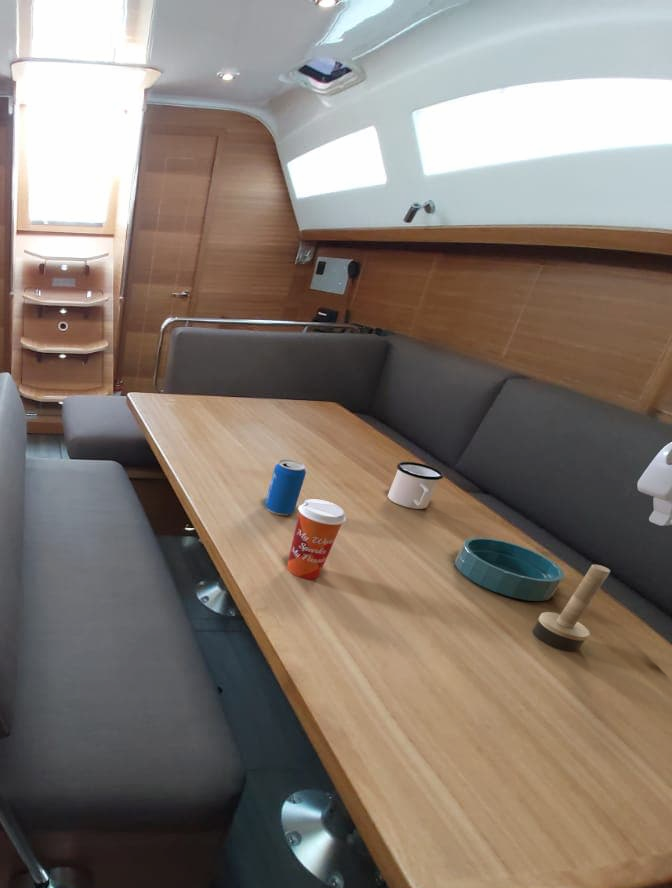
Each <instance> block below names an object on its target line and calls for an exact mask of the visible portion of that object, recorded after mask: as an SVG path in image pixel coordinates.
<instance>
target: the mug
mask: <svg viewBox="0 0 672 888" xmlns="http://www.w3.org/2000/svg"><path fill="white" fill-rule="evenodd" d="M396 469H397V471H396V473H395V476H394V478H393V481H392V484H391V486H390V488H389V492H388V494H387V498H388V499H389V500H390V501H391V502H392V503H394V504H396V505H399V506H401V507H404V508H408V509H412V510H422V509H426V508H427V507H428V506H429V504H430V502H431V498H432V497H433V495H434V492H435V489H436V487H437V485H438V482H439V480H442V479H444V476H445V475H444V472H443V471H441V470H440V469H438V468H436V467H434V466H431V465H428V464H425V463H422V462H421V463H420V462H414V461H399V462H397V464H396Z"/></svg>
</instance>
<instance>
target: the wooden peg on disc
mask: <svg viewBox="0 0 672 888" xmlns="http://www.w3.org/2000/svg"><path fill="white" fill-rule="evenodd" d="M610 574H611V569H610V568H608V567H606V566H603V565H601V564H591V566H590V567H589V569H588V570H587V572H586V573H585V575H584V576H583V578H582V580H581V582H580V583H579V585H577V587H576V589H575V590H574V592H573V594H572V595H571V597H570V599H568V602H567V603H566V605H565V606H564V608H563V609H562V611H561V613H557V612H550V611H545V612H541V614H540V615H539V617H538V619H537V622H536V623H535V625H534V627H533V628H532V633H533V635H534V636H535V637H536V638H537V639H538V640H540V641H541V642H543V643H545V644H546V645H548V646H550V647H553V648H555V649H558V650H561V651H565V652H570V653H572V652H573V653H574V652H577V651H580V649H581V647H582V646H583V644H584V643H585V641H586V640H588V638H589V637H590V636H591V633H590V630H589V629H588V628H587V627H586V626H585V625H583V624H582V623H580V622H579V620H580V619H581V617H582V615H583V614H584V612H585V611H586V610H587V608H588V606H589V605H590V604H591V602H592V600H593V599H594V597H595V596H596V594H597V593H598V591H599V590H600V589H601V587H602V585H603V584H604V582H605V581H606V579H607V578H608V576H609V575H610Z"/></svg>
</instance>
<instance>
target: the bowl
mask: <svg viewBox="0 0 672 888" xmlns="http://www.w3.org/2000/svg"><path fill="white" fill-rule="evenodd" d="M454 565H455V566H456V569H457V570H458V572H460V573H461V574H463V575H464V576H465V577H466V578H467V579H469V580H471V582H474V583H476V585H479V586H480V587H482V588H484V589H486V590H489V591H491V592H493V593H496V594H498V595H502V596H506V597H509V598H513V599H516V600H517V599H518V600H523V601H530V602H531V601H532V602H543V601H547V600H550V599H551V598H552V597H553V595H554V594H555V593H556V591H557V590H558V587H559V586H560V584H561V583H562V581H563V580H564V578H565V573H564V570H563V569H562V568H561V567H560V566H559V565H558V564H557V563H556V562H554V560H551V559H550V558H548V557H547V556H545V555H543V554H541V553H538V552H537V551H535V550H532V549H530V548H528V547H524V546H522V545H519V544H516V543H512V542H509V541H505V540H503V539H502V540H501V539H495V538H491V537H479V536H478V537H477V536H476V537H470V538H467V539H466V540H465V541H463V543H462V545H461V547H460V549H459V552H458V553H457V556H456V558H455V560H454Z"/></svg>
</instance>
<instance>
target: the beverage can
mask: <svg viewBox="0 0 672 888" xmlns="http://www.w3.org/2000/svg"><path fill="white" fill-rule="evenodd" d="M306 474H307V471H306V465H305V464H303V463H302V462H300V461H297V460H292V459H281V460H278V462H277V464H275V465H274V468H273V472H272V476H271V480H270V483H269V486H268V490H267V494H266V498H265V502H264V506H265V508H266V509H267V511H269V512H270V513H272V514H273V515H277V516H289V515H292V514H294V512H295V510H296V507H297V504H298V500H299V497H300V493H301V490H302V487H303V484H304V480H305V477H306Z"/></svg>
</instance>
